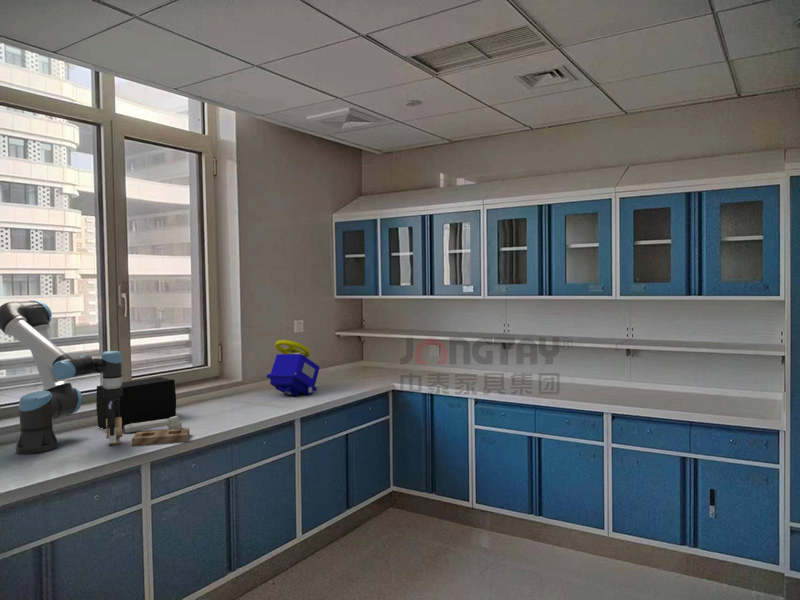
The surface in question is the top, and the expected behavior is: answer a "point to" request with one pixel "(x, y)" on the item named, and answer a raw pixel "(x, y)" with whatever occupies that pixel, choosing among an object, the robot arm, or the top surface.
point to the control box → (293, 369)
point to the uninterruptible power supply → (141, 401)
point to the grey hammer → (153, 424)
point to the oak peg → (118, 430)
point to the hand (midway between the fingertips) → (114, 440)
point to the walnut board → (160, 436)
